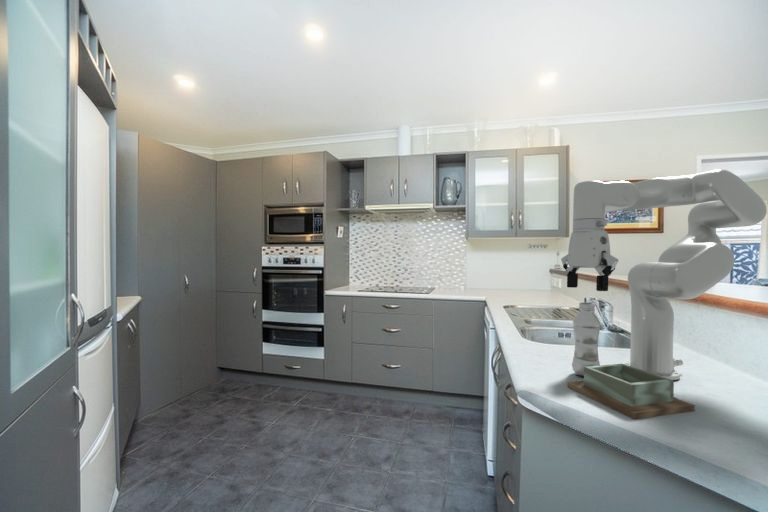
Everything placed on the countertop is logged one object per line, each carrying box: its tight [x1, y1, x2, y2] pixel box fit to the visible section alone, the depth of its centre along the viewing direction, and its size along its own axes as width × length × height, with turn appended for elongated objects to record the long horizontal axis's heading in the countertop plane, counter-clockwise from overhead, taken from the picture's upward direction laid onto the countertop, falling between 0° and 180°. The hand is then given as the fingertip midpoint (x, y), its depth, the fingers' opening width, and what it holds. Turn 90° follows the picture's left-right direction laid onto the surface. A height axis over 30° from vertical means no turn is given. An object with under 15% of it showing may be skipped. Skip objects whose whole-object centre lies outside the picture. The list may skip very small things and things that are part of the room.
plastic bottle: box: [571, 302, 601, 377], centre depth 93 cm, size 6×7×20 cm
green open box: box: [566, 363, 696, 420], centre depth 78 cm, size 17×17×6 cm
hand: (586, 289), depth 93 cm, fingers open, 9 cm apart
